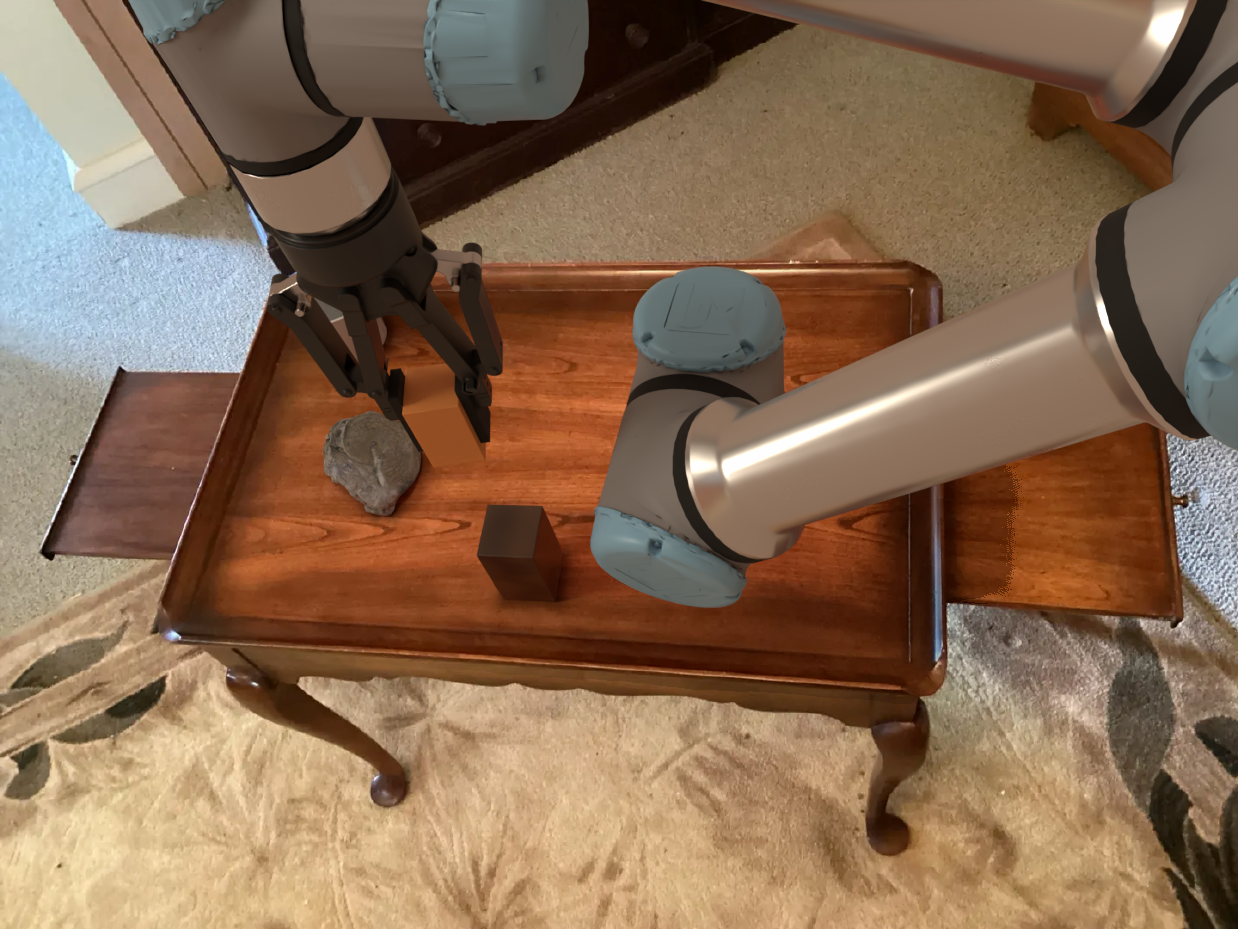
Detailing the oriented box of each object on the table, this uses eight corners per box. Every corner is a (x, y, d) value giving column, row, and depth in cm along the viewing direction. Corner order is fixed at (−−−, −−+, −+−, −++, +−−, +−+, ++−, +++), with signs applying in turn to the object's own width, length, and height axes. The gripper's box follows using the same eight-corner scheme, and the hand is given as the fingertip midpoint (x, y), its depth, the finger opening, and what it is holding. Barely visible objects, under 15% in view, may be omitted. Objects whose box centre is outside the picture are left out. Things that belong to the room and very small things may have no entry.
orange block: (486, 417, 74) (460, 360, 68) (485, 460, 71) (458, 406, 66) (435, 424, 74) (405, 368, 68) (433, 468, 72) (401, 414, 66)
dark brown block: (563, 552, 90) (542, 505, 83) (555, 602, 88) (533, 557, 80) (512, 551, 91) (487, 503, 84) (503, 599, 88) (476, 555, 81)
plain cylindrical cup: (389, 309, 110) (367, 266, 105) (384, 359, 106) (360, 318, 101) (328, 318, 111) (302, 276, 105) (320, 368, 107) (292, 327, 101)
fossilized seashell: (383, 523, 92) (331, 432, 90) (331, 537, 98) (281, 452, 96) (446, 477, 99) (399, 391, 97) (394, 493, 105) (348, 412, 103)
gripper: (482, 119, 53) (565, 375, 73) (191, 169, 55) (349, 407, 74) (480, 214, 49) (569, 458, 69) (166, 265, 51) (340, 490, 70)
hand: (454, 431), depth 71 cm, fingers closed on orange block, 4 cm apart
